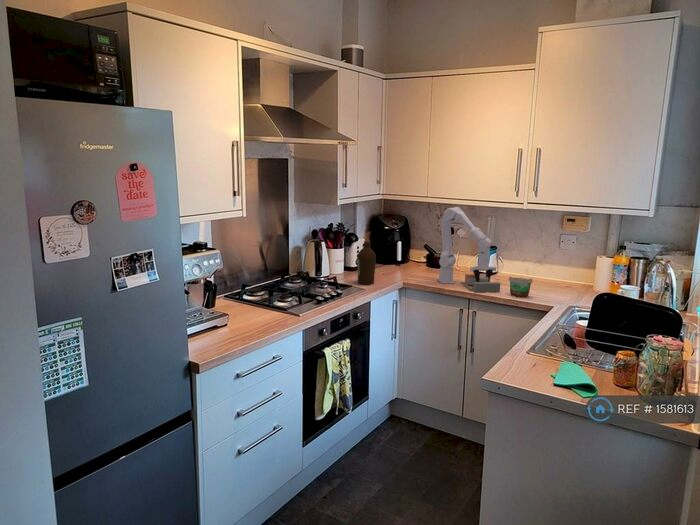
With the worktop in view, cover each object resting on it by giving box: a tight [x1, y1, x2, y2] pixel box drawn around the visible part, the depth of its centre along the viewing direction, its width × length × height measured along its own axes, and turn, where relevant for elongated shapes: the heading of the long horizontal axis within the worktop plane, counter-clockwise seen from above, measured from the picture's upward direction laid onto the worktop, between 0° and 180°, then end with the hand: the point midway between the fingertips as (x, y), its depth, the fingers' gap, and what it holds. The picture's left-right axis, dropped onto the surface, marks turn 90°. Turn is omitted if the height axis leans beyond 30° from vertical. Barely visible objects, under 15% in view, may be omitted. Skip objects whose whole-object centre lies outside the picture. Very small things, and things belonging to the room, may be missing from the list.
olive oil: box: [356, 239, 377, 286], centre depth 292 cm, size 11×11×25 cm
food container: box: [508, 276, 533, 298], centre depth 271 cm, size 12×6×10 cm, turn 62°
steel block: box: [479, 275, 488, 282], centre depth 287 cm, size 5×5×7 cm
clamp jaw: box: [464, 273, 492, 286], centre depth 294 cm, size 3×14×6 cm, turn 96°
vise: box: [460, 281, 501, 294], centre depth 288 cm, size 20×17×5 cm
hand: (482, 283), depth 287 cm, fingers closed on steel block, 5 cm apart
